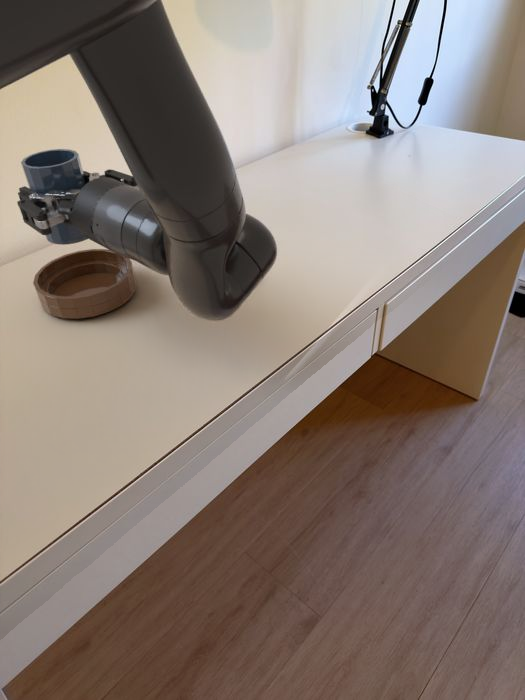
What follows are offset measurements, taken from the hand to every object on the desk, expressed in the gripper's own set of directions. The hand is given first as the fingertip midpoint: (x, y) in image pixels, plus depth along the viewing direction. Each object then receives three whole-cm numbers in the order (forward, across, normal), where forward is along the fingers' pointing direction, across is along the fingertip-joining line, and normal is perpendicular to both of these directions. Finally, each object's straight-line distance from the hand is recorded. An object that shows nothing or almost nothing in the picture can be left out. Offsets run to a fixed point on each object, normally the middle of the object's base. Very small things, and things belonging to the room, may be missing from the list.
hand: (50, 185), depth 68 cm
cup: (-2, 0, +6) cm, 6 cm away
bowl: (+1, -1, +18) cm, 18 cm away
